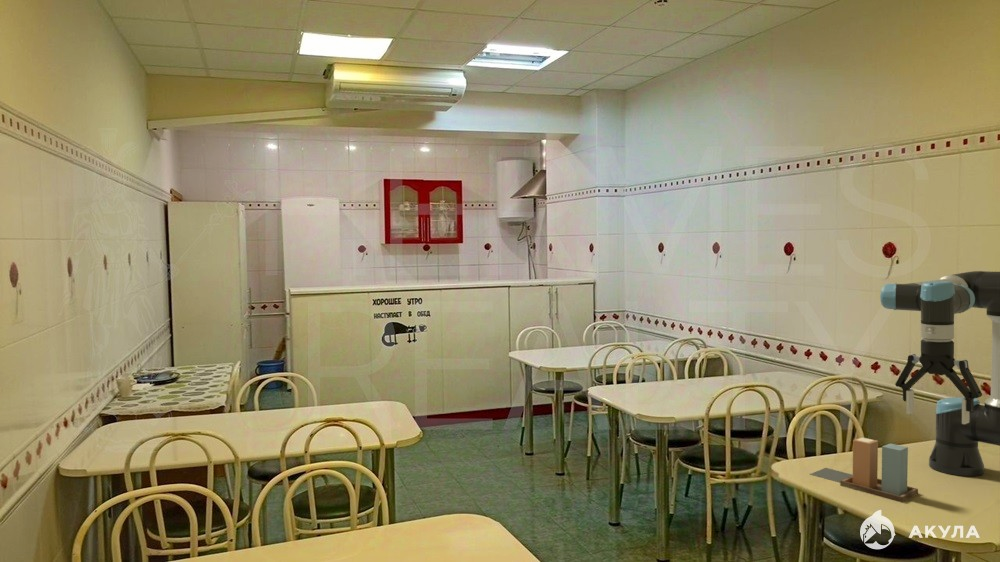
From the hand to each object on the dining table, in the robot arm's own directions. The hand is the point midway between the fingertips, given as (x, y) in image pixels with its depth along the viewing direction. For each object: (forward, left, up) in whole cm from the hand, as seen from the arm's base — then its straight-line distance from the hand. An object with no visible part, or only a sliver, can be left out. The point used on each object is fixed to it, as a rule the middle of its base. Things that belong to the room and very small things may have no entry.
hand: (937, 418), depth 188 cm
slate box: (-9, -15, -27) cm, 32 cm away
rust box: (-9, -23, -27) cm, 36 cm away
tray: (-9, -19, -28) cm, 35 cm away
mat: (-11, -34, -28) cm, 45 cm away
